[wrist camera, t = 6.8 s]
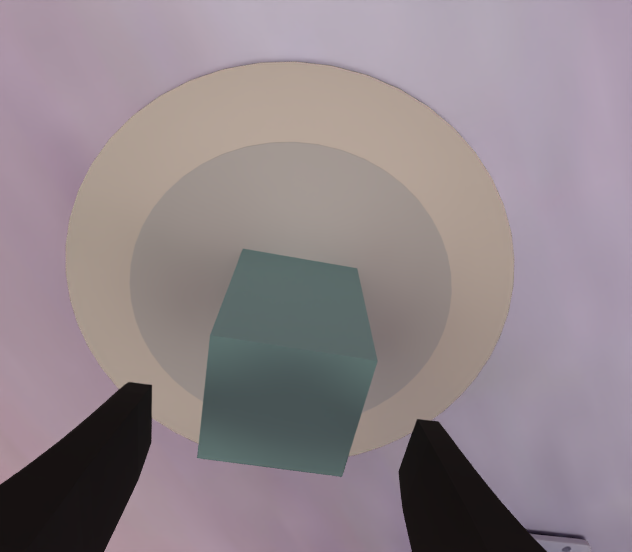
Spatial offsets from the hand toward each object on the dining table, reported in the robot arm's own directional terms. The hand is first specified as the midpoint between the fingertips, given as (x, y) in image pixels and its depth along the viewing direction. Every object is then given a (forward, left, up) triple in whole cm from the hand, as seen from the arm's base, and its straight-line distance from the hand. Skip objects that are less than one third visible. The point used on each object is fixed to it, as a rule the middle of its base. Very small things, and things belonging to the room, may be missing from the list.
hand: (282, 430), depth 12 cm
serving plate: (0, 0, -8) cm, 8 cm away
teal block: (0, 0, -7) cm, 7 cm away
